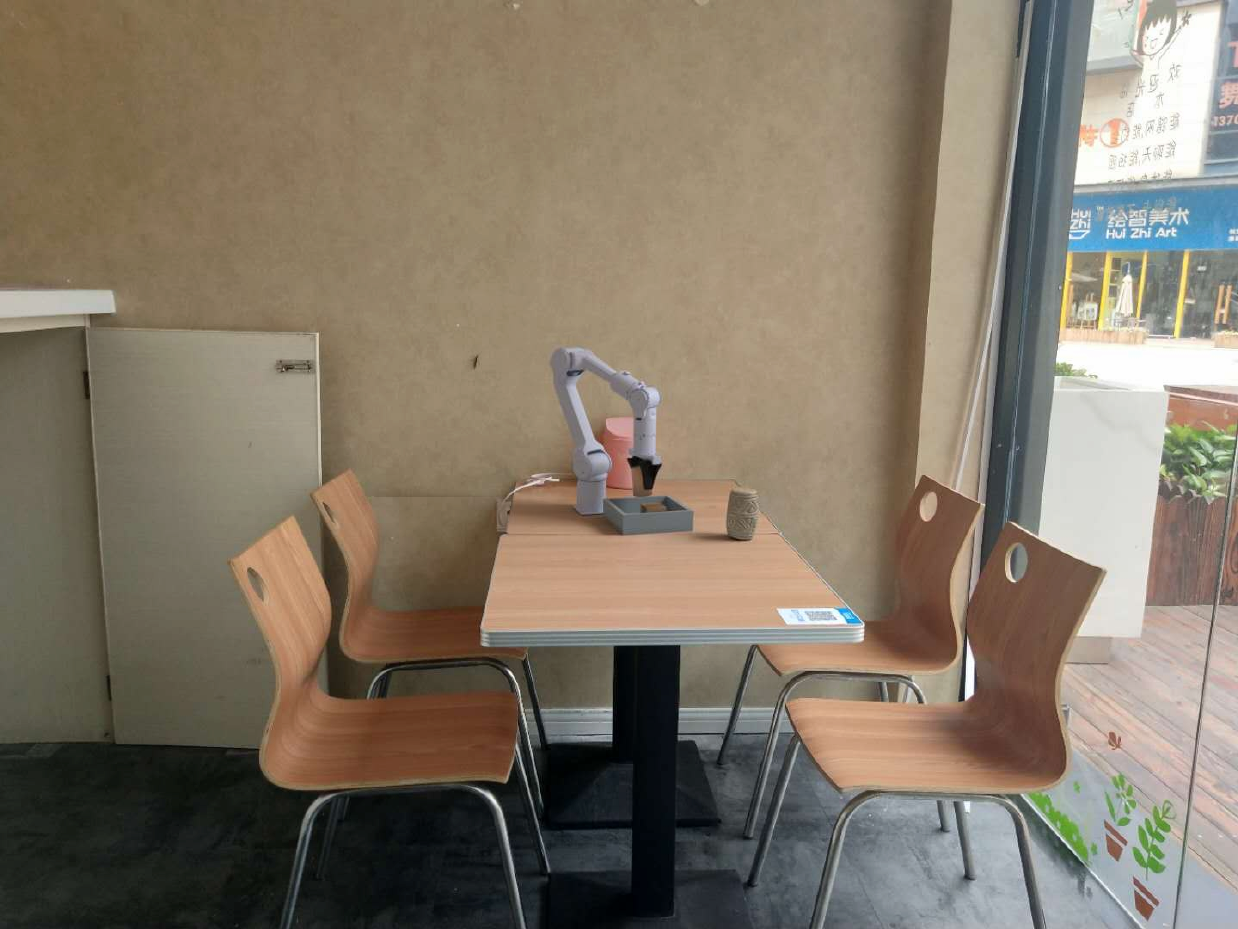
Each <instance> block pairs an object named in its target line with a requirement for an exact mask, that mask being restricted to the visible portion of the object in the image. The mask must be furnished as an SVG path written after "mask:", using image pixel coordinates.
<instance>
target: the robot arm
mask: <svg viewBox="0 0 1238 929" xmlns="http://www.w3.org/2000/svg"><path fill="white" fill-rule="evenodd" d="M549 366H550V368H551V370H552V377H553V378H552V383H553V387H554V390H555V393H556V396H557V398H558V402H559V404H560V408H561V410H562V412H563V416H564V419H565V422H566V424H567V426H568V429H569V431H570V432H569V433H570V435H571V438H572V440H573V444H574V446H575V447H574V450H573V452H572V453H571V455H570V456H571V459H572V462H573V463H572V470H573V473H574V474H575V475H576V477H577V484H576V504H574V505H572V507H573V508H574V509H575V510H576V511H577V512H578V513H579V514H580V515H581V516H585V515H586V516H587V515H603V499H606V498H607V477H608V473H610V471H611V470H612V467H613V462H612V458H611V457H610V455H609V453H607V452H606V450H605V447H604V446H603V444H601V443H600V442H598V441H597V440H596V438H595V435H594V433H593V430H592V427H591V425H590V422H589V419H588V416H587V413H586V411H585V408H584V405H583V402H582V400H581V397H580V394H579V391H578V388H577V383H578V381H579V379H580V378H581V377H582V375H583V374H584V373H585V372H586V371H588V372H589V373H591V374H593V375H595V376H597V377H599V378H600V379H602V380H603V381H606V383H609V386H610V390H611V391H612V392H614V393H615V394H617V395H619V397H622V399H624V400H626V401H627V402H628V403H629V406H630V407H631V410H632V415H633V425H632V426H633V430H632V431H633V433H632V434H633V435H632V437H633V438H632V446H631V447H630V446H629V447H628V455H629V456H631V457H627V458H626V461H627V463H628V465H629V467H630V469H631V468H632V467H634V466H640V468H641V471H642V476H643V486H644V490H652V491H653V489H654V485H655V482H656V478H657V476H658V474H659V472H660V470H661V468H662V466H663V463H662V461H661V460H662V459H661V456H660V455H659V454H658V452H657V451H656V449H657V448H656V446H657V445H656V444H657V443H656V442H657V407H659V405H660V404H661V402H662V394H661V392H660V390H659V389H658V388H657V387H656V386H655V385H646V384H645V383H646V382H644V381H642V380H638V379H637V378H635V377H633V376H632V373H631V371H629V370H620V371H617V370H615V369H614V368H612V366H610V365H609V364H607V363H605V361H603V360H602V359H600V358H599V357H598V356H596V355H595V354H594V352H593V351H591V350H589V349H588V348H586V347H584V346H577V347H558V348H556V349H555V350H554V351H553V353H552V355H551V357H550V360H549Z"/></svg>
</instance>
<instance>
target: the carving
mask: <svg viewBox="0 0 1238 929" xmlns="http://www.w3.org/2000/svg"><path fill="white" fill-rule="evenodd" d="M758 496H759V495H758V492H757V490H756V489H753V488H750V487H745V486H744V487H743V486H742V487H739V486H738V487H737V486H736V487H734V488H731V491H730V492H729V497H728V502H727V511H726V518H725V528H726V533H727V535H729V536H730V537H732V538H734V539H737V540H741V541H742V540H743V541H749V540H752V539H753V538H754V536H755V532H756V528H757V525H758V517H759V504H758V502H759V501H758V499H759V497H758Z"/></svg>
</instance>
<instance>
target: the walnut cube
mask: <svg viewBox="0 0 1238 929" xmlns="http://www.w3.org/2000/svg"><path fill="white" fill-rule="evenodd" d="M651 512H666V506H664V505H663V504H661V503H643V504H641V509H640V513H651Z"/></svg>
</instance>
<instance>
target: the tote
mask: <svg viewBox="0 0 1238 929" xmlns="http://www.w3.org/2000/svg"><path fill="white" fill-rule="evenodd" d="M643 503H661V504H663V505H664V506H666V512H651V513H640V509H641V504H643ZM602 518H603V519H604V520H605V521H606V522H607V523H609V525H611V526H612V527H613V528H614V529H615V528H616V530H617V532H619V534H621V535H622V536H632V535H633V534H636V535H647V534H661V533H676V532H677V533H678V532H689V531H691V532H692V531H694V510H692V509H691V508H690V507H688V506H686V505H685V504H683V503H682V502H680V501H678V499H676V498H674V497H672V496H671V495H669V494H662V495H661V494H660V495H659V494H658V495H650V496H647V497H635V496H628V497H627V496H626V497H625V496H624V497H611V498H607V497H606V499H603V514H602Z"/></svg>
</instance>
